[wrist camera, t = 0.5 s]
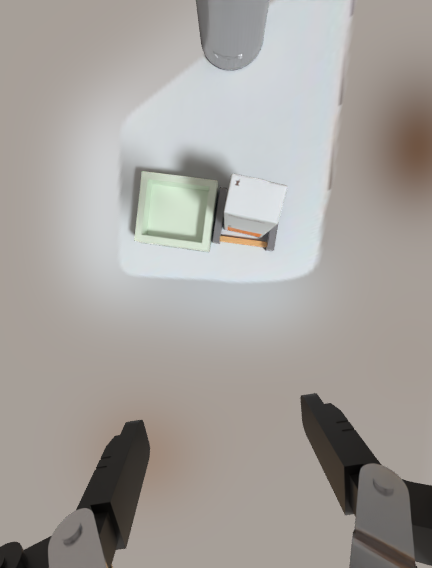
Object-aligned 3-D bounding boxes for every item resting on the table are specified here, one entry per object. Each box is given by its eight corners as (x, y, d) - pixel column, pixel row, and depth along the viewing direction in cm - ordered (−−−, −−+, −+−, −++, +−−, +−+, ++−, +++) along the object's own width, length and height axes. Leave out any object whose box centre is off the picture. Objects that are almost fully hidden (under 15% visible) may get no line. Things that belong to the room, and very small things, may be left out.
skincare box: (223, 230, 36) (221, 212, 24) (230, 203, 35) (231, 170, 24) (261, 239, 36) (278, 224, 24) (268, 211, 35) (289, 183, 23)
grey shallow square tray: (220, 191, 35) (220, 187, 34) (279, 198, 35) (282, 195, 33) (213, 243, 36) (212, 241, 34) (271, 251, 36) (273, 250, 34)
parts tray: (149, 179, 36) (141, 171, 33) (218, 187, 35) (217, 180, 32) (141, 242, 37) (134, 240, 34) (209, 252, 36) (207, 250, 33)
